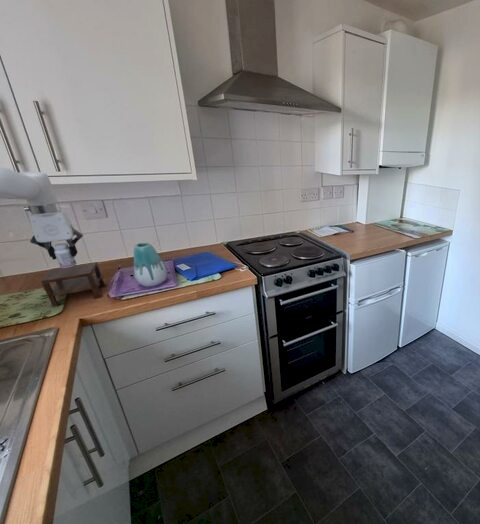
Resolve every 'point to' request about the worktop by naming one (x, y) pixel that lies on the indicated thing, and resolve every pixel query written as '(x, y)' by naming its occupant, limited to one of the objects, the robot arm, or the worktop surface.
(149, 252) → the vase
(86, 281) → the shelf
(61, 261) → the pill bottle
